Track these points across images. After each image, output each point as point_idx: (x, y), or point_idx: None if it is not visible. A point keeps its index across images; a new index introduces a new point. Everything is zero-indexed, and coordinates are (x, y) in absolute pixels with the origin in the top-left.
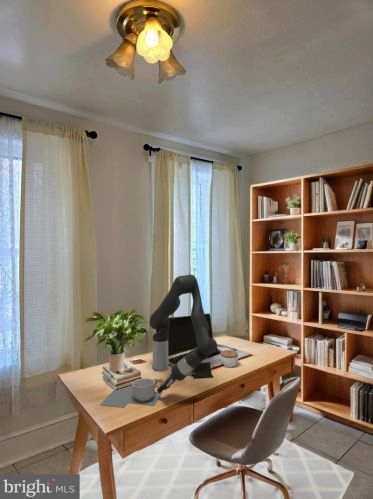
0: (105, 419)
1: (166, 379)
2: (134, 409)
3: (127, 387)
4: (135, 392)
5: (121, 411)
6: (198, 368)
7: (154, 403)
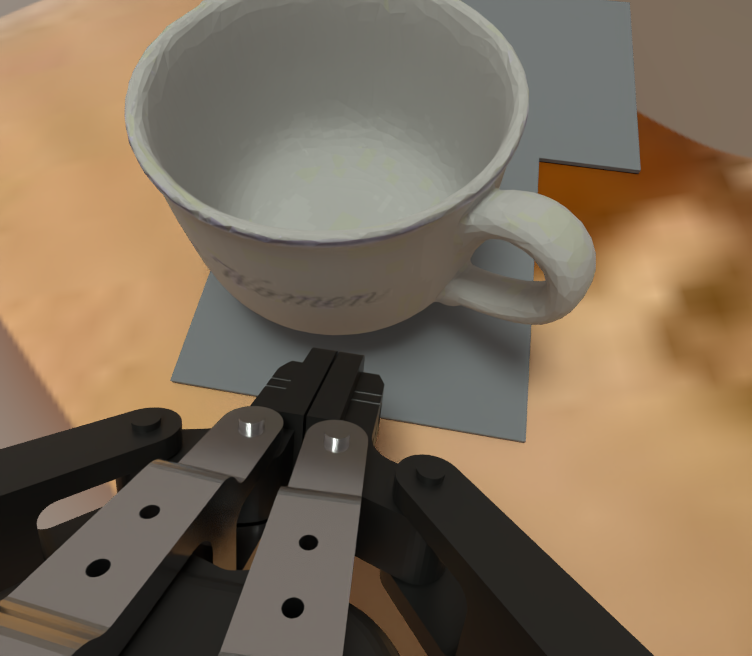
0: (19, 41)
1: (83, 541)
2: (133, 199)
3: (570, 67)
4: (224, 89)
5: (118, 111)
6: None
7: (220, 376)
